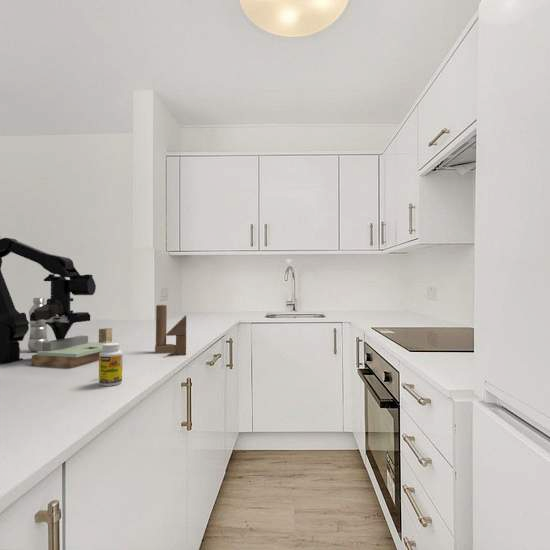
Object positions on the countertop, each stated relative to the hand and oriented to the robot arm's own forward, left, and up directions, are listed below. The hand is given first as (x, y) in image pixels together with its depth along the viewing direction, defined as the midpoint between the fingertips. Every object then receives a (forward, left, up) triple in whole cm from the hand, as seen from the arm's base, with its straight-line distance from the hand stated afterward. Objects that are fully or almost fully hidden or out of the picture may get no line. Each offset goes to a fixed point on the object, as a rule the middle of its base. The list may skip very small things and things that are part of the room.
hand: (59, 343), depth 126 cm
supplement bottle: (+33, -19, -6) cm, 39 cm away
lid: (+8, 0, -2) cm, 8 cm away
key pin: (+3, +18, -6) cm, 19 cm away
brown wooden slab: (+6, 0, -6) cm, 9 cm away
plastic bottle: (-23, +14, -6) cm, 27 cm away
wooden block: (+28, +21, -6) cm, 36 cm away
